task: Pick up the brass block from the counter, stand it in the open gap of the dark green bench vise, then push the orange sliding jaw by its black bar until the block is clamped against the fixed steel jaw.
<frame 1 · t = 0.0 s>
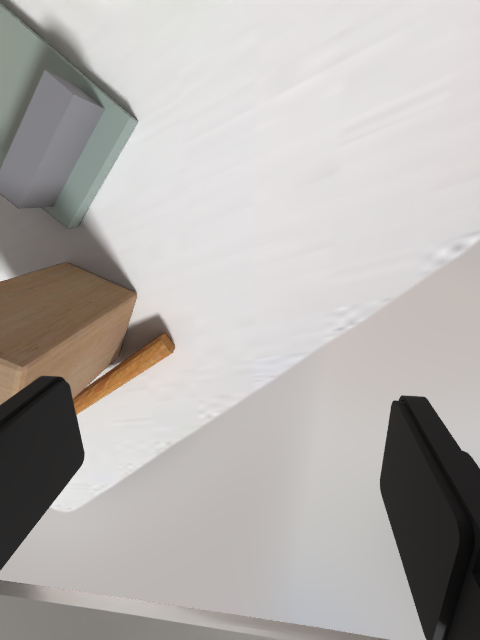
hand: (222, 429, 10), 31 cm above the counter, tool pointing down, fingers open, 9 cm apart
wooden block: (94, 310, 45), on the counter
hammer: (95, 385, 49), on the counter
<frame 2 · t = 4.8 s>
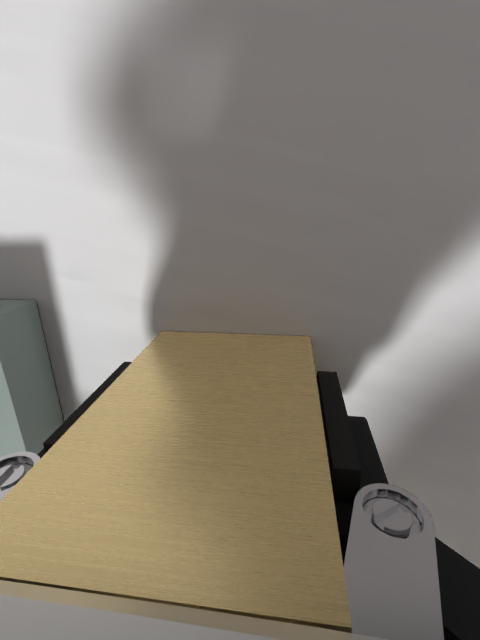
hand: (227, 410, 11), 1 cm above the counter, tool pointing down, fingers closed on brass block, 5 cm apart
brass block: (235, 386, 12), on the counter, touching gripper
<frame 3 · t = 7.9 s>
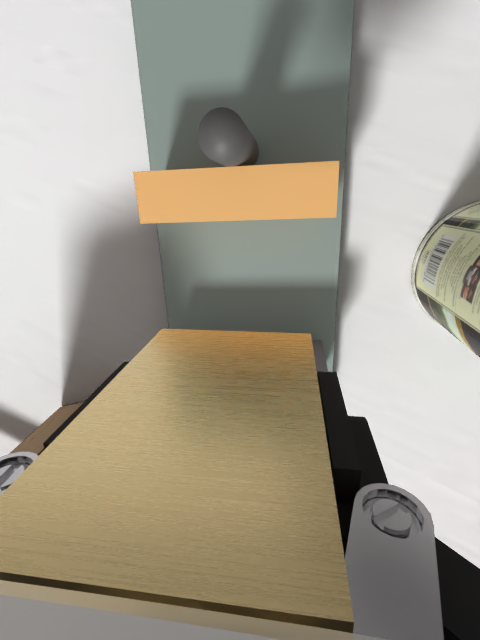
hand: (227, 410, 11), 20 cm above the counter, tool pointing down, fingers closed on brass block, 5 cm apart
vise: (248, 221, 28), on the counter
wooden block: (119, 433, 37), on the counter
sliding jaw: (235, 173, 21), point 6 cm above the counter, slide at 0.0 cm
brass block: (235, 383, 12), point 18 cm above the counter, touching gripper
when the fingers open (5 cm above the counter, at t = 11.4 s): brass block drops 1 cm, resting on vise.
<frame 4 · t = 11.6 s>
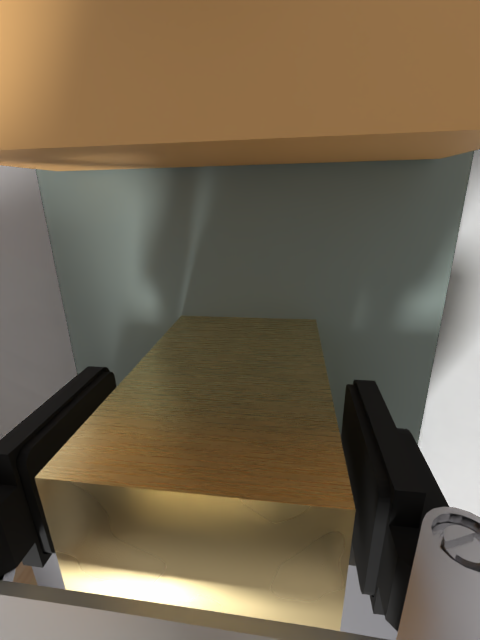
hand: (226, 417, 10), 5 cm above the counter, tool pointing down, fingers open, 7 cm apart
vise: (243, 184, 13), on the counter
wooden block: (24, 547, 23), on the counter
brass block: (247, 366, 13), point 2 cm above the counter, touching vise
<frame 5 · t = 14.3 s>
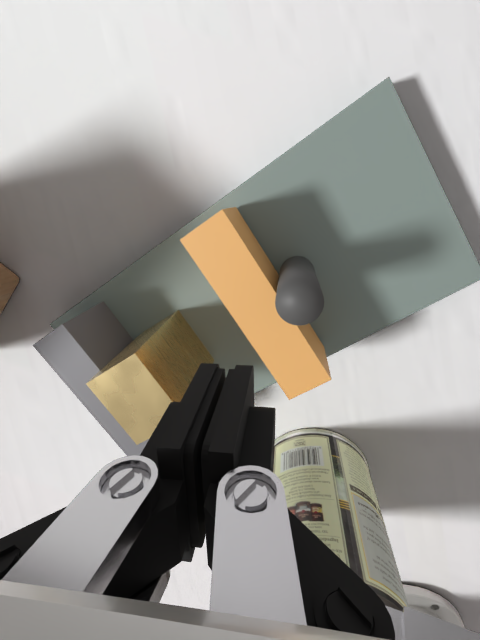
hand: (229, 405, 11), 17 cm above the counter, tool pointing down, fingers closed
vise: (245, 296, 28), on the counter
sliding jaw: (276, 297, 21), point 6 cm above the counter, slide at 0.0 cm
coffee can: (314, 470, 33), on the counter
brass block: (177, 346, 28), point 2 cm above the counter, touching vise
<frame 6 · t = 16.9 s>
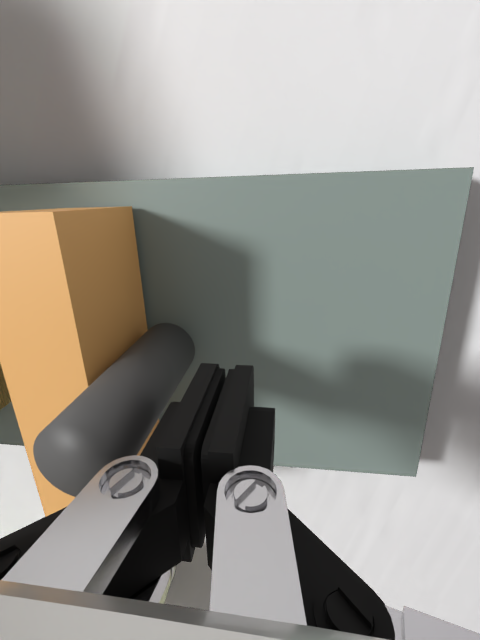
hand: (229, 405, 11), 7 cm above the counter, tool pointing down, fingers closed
vise: (127, 323, 18), on the counter
sliding jaw: (100, 382, 12), point 6 cm above the counter, slide at 1.4 cm, touching gripper
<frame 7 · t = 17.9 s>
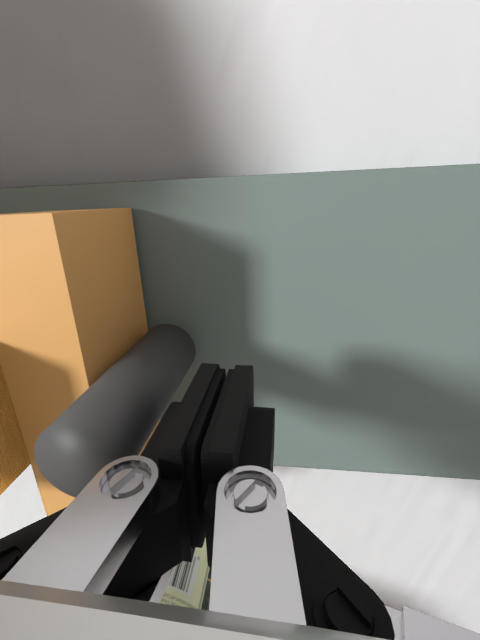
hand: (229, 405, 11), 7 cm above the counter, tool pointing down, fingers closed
vise: (212, 325, 18), on the counter
sliding jaw: (101, 384, 12), point 6 cm above the counter, slide at 6.0 cm, touching brass block, gripper
coffee can: (175, 557, 25), on the counter
brass block: (57, 343, 17), point 2 cm above the counter, touching sliding jaw, vise
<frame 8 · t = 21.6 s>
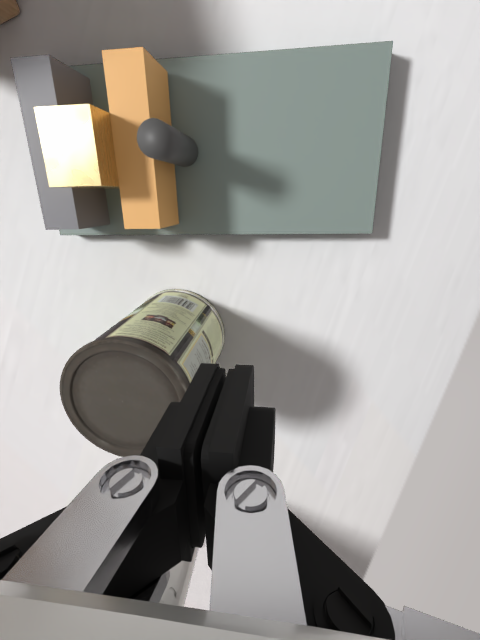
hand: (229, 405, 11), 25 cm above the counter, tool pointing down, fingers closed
vise: (207, 154, 32), on the counter
sliding jaw: (154, 147, 26), point 6 cm above the counter, slide at 6.0 cm
coffee can: (181, 332, 39), on the counter
brass block: (121, 158, 31), point 2 cm above the counter, touching vise
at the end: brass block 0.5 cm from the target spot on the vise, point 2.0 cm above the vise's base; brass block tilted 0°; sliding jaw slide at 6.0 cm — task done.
